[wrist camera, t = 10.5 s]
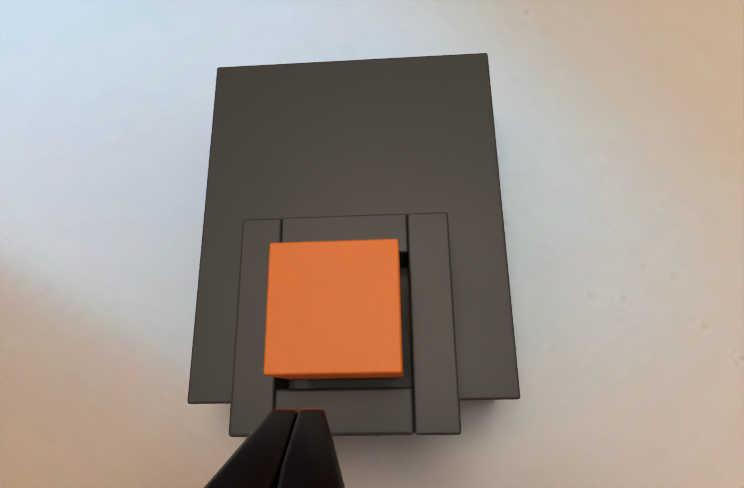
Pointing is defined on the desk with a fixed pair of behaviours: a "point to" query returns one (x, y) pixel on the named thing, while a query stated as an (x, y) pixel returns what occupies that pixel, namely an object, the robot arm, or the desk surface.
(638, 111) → the desk surface
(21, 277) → the desk surface
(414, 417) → the grey socket base
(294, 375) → the orange cube
